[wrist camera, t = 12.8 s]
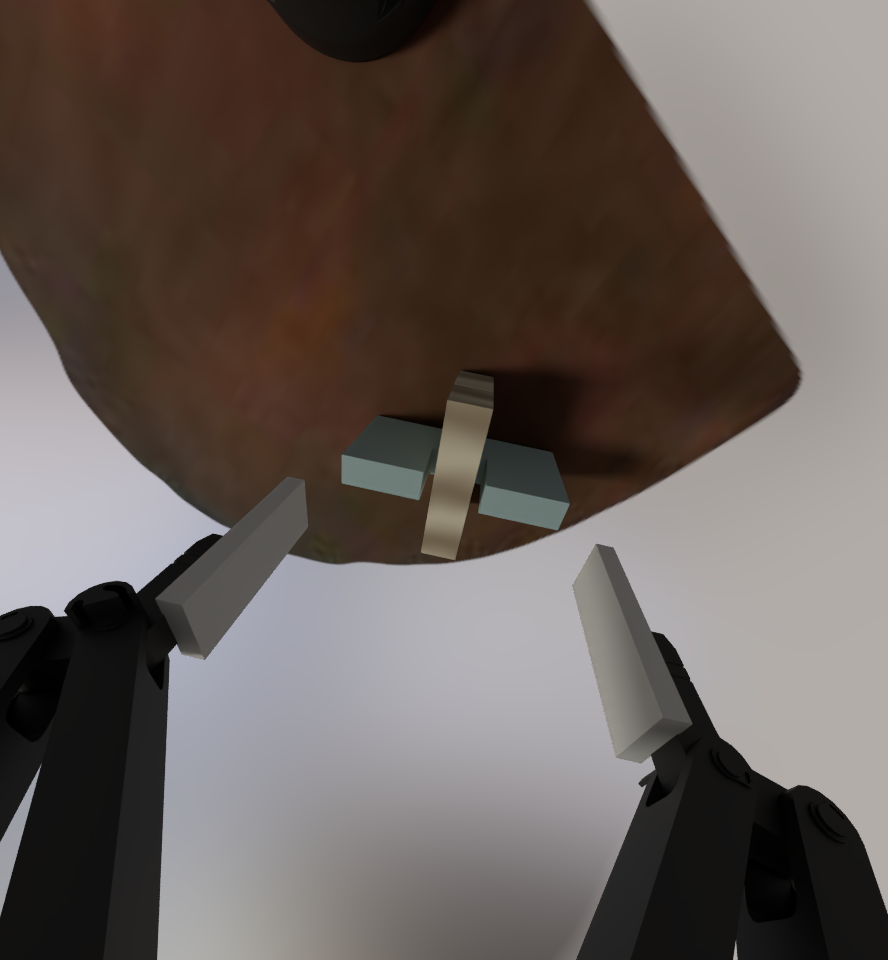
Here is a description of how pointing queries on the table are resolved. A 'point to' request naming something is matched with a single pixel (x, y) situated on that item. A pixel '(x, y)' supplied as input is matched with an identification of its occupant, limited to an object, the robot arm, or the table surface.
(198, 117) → the table surface
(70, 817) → the robot arm
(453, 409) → the beige bar
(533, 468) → the base plate
